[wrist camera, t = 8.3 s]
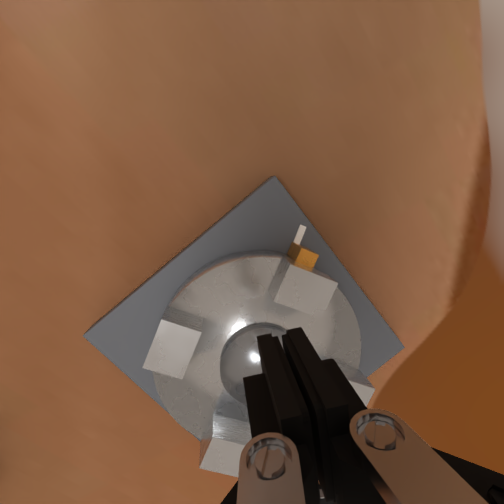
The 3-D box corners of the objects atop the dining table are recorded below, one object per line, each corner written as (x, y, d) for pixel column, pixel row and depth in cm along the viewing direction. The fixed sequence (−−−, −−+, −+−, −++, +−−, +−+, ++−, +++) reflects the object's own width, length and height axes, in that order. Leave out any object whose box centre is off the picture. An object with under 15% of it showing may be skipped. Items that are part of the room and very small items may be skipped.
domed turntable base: (206, 206, 25) (203, 210, 20) (383, 278, 29) (422, 299, 23) (131, 397, 28) (111, 447, 23) (301, 443, 32) (318, 496, 26)
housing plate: (270, 176, 28) (275, 175, 26) (393, 337, 33) (405, 348, 31) (91, 325, 29) (81, 336, 26) (238, 460, 34) (240, 478, 32)
